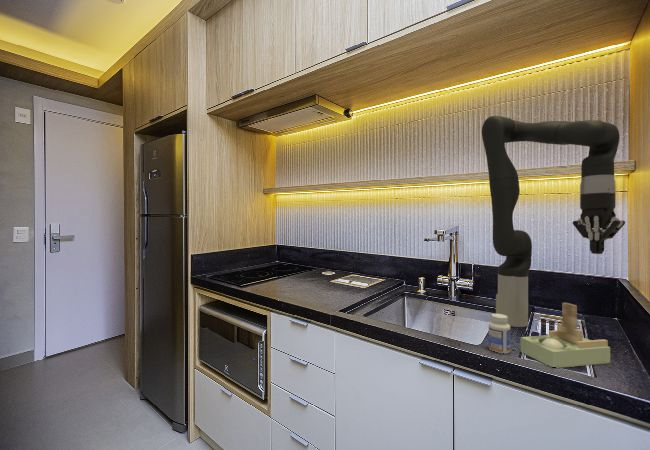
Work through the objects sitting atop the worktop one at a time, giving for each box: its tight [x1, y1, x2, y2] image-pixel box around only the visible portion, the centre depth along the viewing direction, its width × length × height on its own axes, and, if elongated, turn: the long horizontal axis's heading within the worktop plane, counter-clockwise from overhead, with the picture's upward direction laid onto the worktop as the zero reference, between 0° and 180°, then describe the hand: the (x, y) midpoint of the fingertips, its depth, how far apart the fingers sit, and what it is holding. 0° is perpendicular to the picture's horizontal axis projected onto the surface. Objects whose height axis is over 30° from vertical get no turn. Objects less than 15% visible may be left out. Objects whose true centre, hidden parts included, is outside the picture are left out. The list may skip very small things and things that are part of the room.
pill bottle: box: [488, 313, 512, 354], centre depth 86 cm, size 5×5×10 cm
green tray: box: [520, 329, 611, 369], centre depth 82 cm, size 10×17×6 cm, turn 100°
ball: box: [542, 339, 564, 348], centre depth 81 cm, size 5×5×5 cm
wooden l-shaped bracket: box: [556, 302, 584, 344], centre depth 82 cm, size 6×1×10 cm, turn 10°
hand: (597, 253), depth 87 cm, fingers closed
